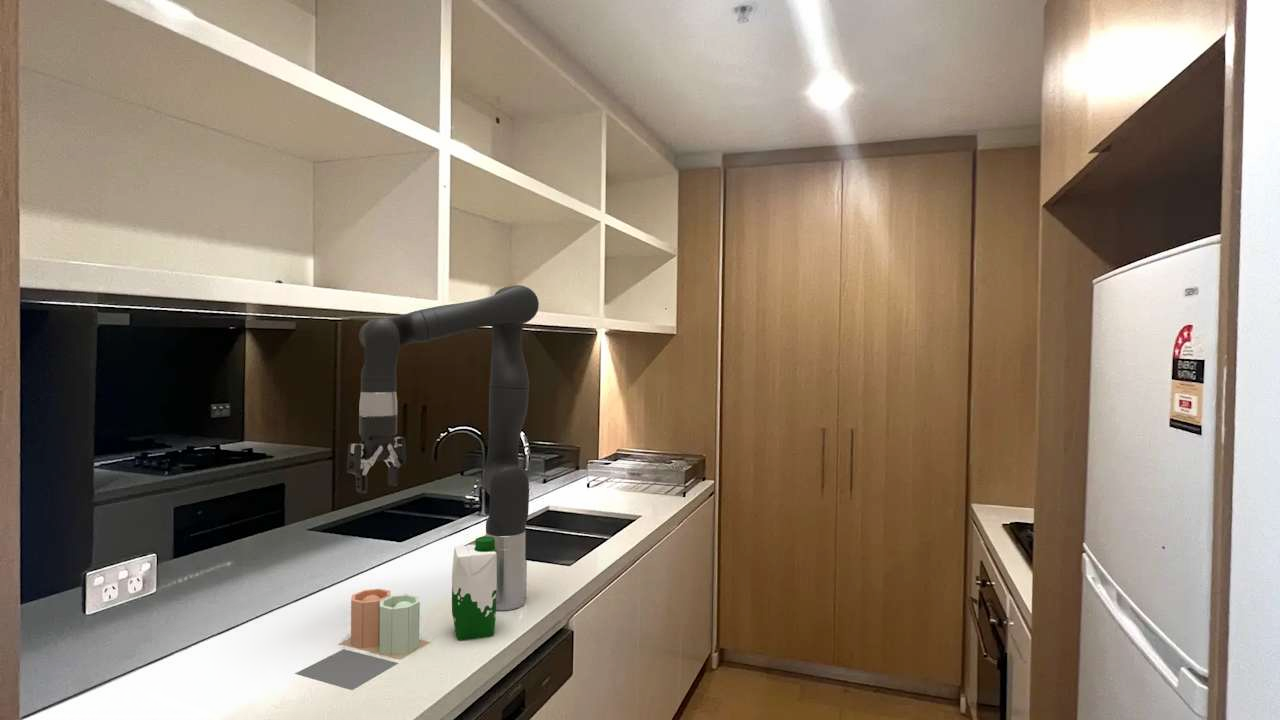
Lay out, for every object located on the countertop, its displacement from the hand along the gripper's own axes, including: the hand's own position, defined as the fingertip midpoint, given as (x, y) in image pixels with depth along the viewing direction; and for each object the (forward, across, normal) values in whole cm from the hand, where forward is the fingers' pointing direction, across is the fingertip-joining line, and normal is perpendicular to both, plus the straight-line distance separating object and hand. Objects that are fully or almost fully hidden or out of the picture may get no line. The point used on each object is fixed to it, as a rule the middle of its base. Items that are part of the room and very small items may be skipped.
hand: (377, 489), depth 141 cm
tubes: (+30, +5, +7) cm, 31 cm away
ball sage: (+24, +6, +11) cm, 27 cm away
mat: (+30, +16, +9) cm, 35 cm away
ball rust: (+24, +6, +4) cm, 25 cm away
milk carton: (+30, -7, +20) cm, 37 cm away
